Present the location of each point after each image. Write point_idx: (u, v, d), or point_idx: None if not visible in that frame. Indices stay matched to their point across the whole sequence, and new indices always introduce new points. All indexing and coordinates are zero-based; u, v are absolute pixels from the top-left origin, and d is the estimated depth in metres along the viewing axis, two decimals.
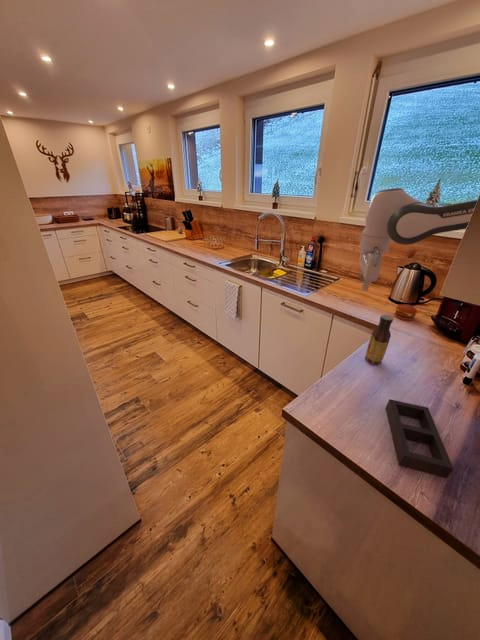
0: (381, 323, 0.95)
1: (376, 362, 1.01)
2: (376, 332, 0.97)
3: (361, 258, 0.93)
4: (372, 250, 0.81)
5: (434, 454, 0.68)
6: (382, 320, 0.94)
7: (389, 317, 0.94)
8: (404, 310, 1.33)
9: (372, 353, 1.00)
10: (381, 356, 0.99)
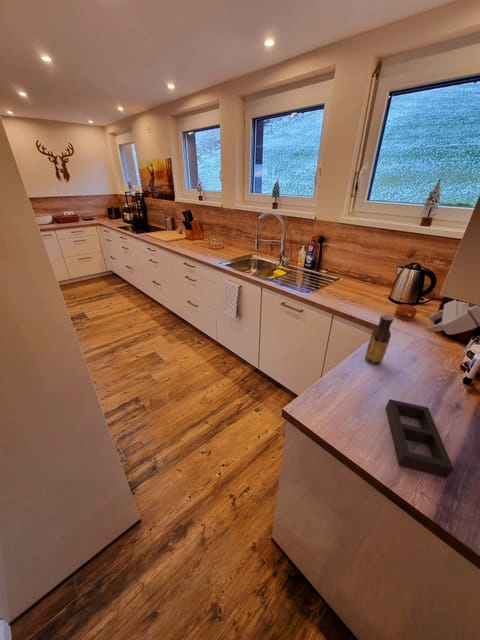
0: (381, 323, 0.95)
1: (376, 362, 1.01)
2: (376, 332, 0.97)
3: None
4: None
5: (434, 454, 0.68)
6: (382, 320, 0.94)
7: (389, 317, 0.94)
8: (404, 310, 1.33)
9: (372, 353, 1.00)
10: (381, 356, 0.99)
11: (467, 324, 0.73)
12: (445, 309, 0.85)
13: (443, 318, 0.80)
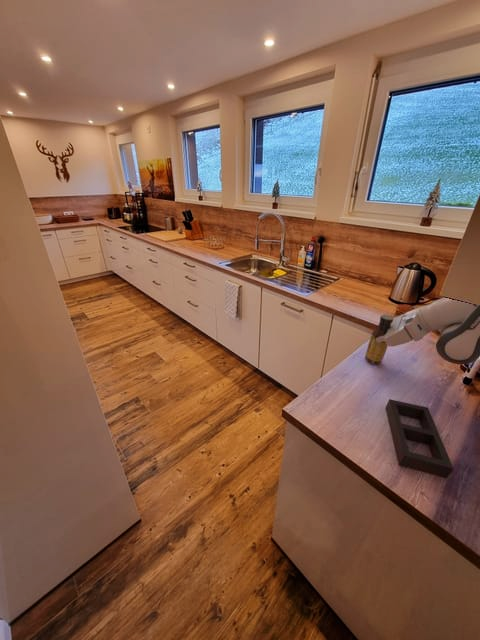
0: (381, 323, 0.95)
1: (376, 362, 1.01)
2: (376, 331, 0.97)
3: None
4: None
5: (434, 454, 0.68)
6: (382, 320, 0.94)
7: (390, 317, 0.94)
8: (404, 310, 1.33)
9: (372, 352, 1.00)
10: (381, 356, 0.99)
11: (403, 338, 0.85)
12: (392, 323, 0.97)
13: (387, 332, 0.92)
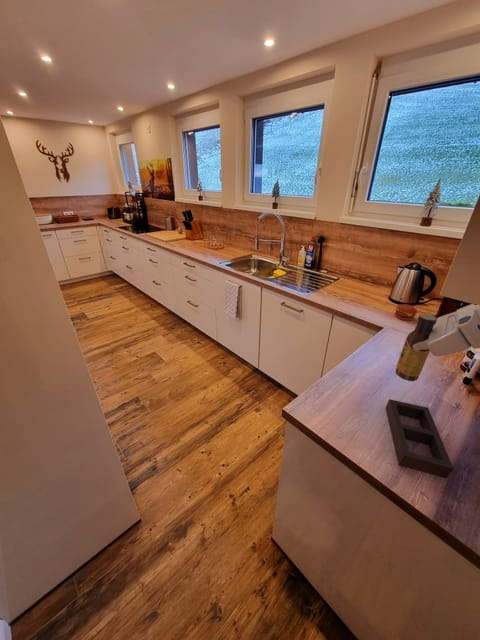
0: (420, 325, 0.71)
1: (412, 377, 0.76)
2: (413, 336, 0.73)
3: None
4: None
5: (434, 454, 0.68)
6: (422, 320, 0.70)
7: (432, 317, 0.70)
8: (404, 310, 1.33)
9: (406, 364, 0.75)
10: (419, 369, 0.75)
11: (457, 345, 0.60)
12: (434, 325, 0.73)
13: (430, 336, 0.67)
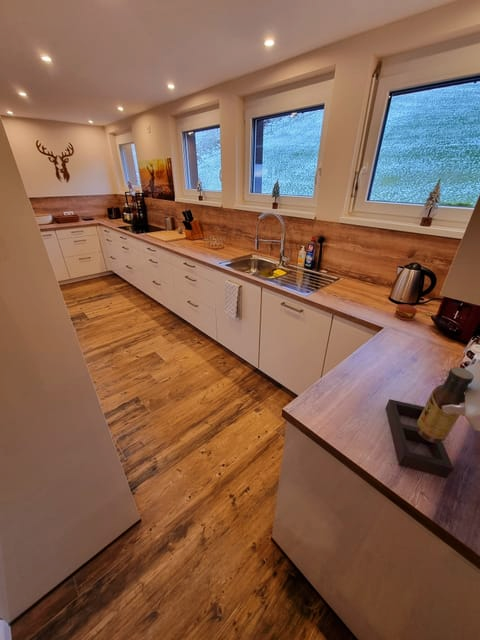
0: (452, 382, 0.56)
1: (438, 440, 0.62)
2: (441, 395, 0.58)
3: None
4: None
5: (434, 454, 0.68)
6: (455, 378, 0.56)
7: (467, 372, 0.56)
8: (404, 310, 1.33)
9: (432, 426, 0.61)
10: (447, 432, 0.61)
11: None
12: None
13: (467, 400, 0.53)
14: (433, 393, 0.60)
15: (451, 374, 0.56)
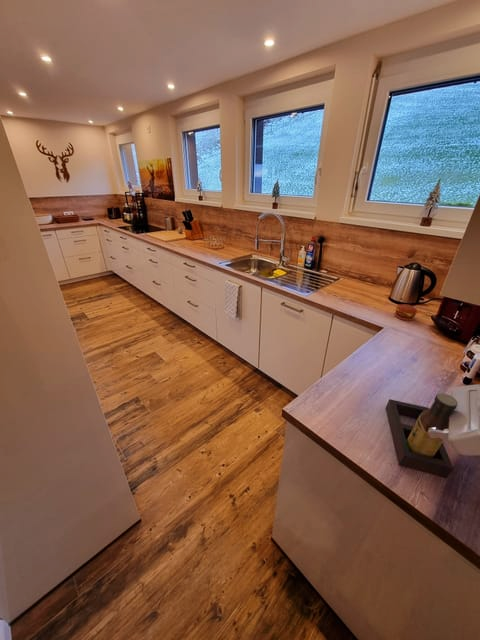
0: (437, 408, 0.60)
1: None
2: (428, 419, 0.62)
3: None
4: None
5: None
6: (440, 404, 0.59)
7: (451, 399, 0.60)
8: (404, 310, 1.33)
9: (419, 447, 0.65)
10: (433, 453, 0.65)
11: None
12: None
13: (451, 423, 0.57)
14: (420, 416, 0.64)
15: (437, 400, 0.60)
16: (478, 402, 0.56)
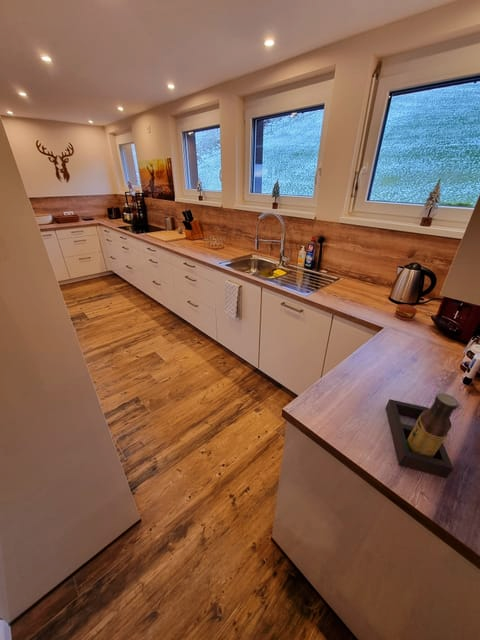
0: (438, 408, 0.60)
1: None
2: (428, 419, 0.62)
3: None
4: None
5: None
6: (440, 404, 0.59)
7: (452, 399, 0.60)
8: (404, 310, 1.33)
9: (419, 447, 0.65)
10: (433, 453, 0.65)
11: None
12: None
13: None
14: (421, 416, 0.64)
15: (437, 400, 0.60)
16: None
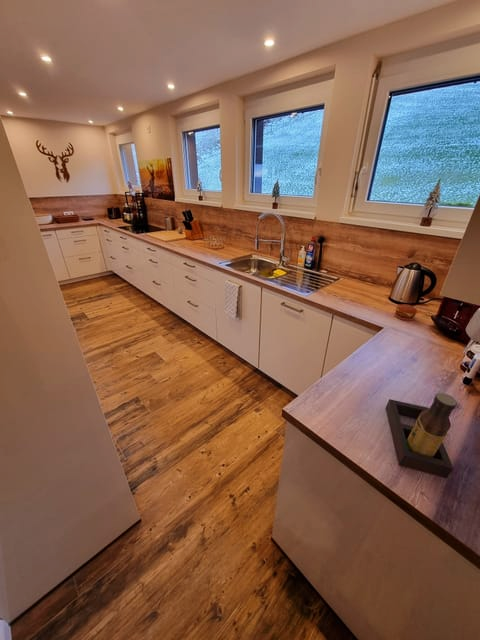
0: (437, 407, 0.60)
1: None
2: (427, 418, 0.62)
3: None
4: None
5: None
6: (439, 404, 0.59)
7: (451, 398, 0.60)
8: (404, 310, 1.33)
9: (419, 446, 0.65)
10: (433, 453, 0.65)
11: None
12: None
13: None
14: (420, 416, 0.64)
15: (436, 400, 0.60)
16: None
